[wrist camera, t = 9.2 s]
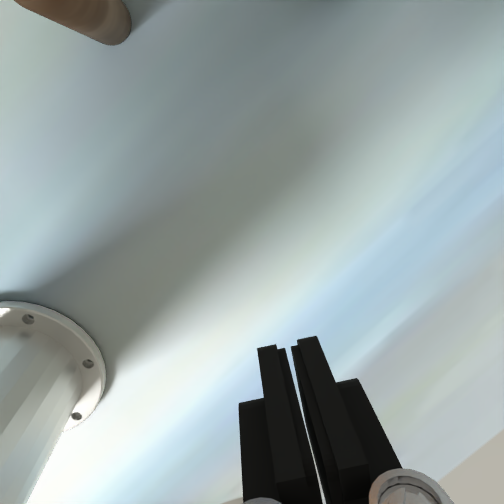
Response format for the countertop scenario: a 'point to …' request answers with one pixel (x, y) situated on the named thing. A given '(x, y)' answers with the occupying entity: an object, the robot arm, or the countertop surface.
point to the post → (87, 17)
